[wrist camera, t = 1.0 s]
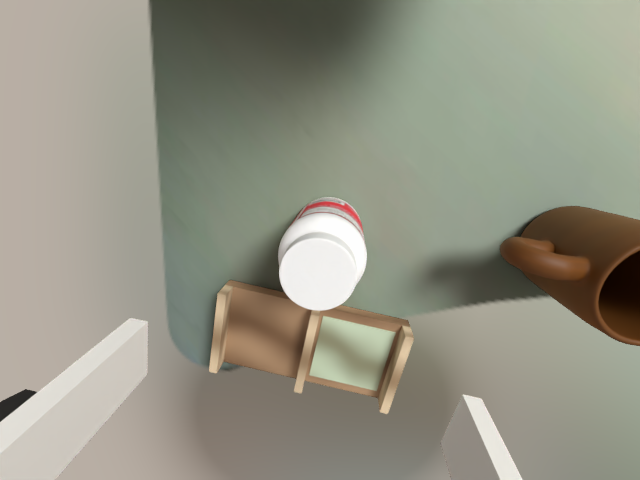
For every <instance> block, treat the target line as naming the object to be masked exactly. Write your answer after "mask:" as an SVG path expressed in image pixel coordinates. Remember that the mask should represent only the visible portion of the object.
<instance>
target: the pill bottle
mask: <svg viewBox="0 0 640 480" xmlns="http://www.w3.org/2000/svg"><path fill="white" fill-rule="evenodd" d="M278 261H279V266H280V267H279V278H280V283H281V286H282V288H283V290H284V292H285V293H286V295H287V296H288V297H289V298H290V299H291V300H292V301H293V302H294V303H296V304H297V305H299V306H301V307H303V308H306V309H310V310H317V311H322V310H329V309H332V308H335V307H337V306H339V305H341V304H342V303H343V302H345V301H346V300H347V299H348V298H349V296H350V295H351V294H352V292H353V290H354V288H355V285H356V284H357V283H358V282H359V280H360V279H361V277H362V275H363V273H364V270H365V267H366V261H367V251H366V245H365V240H364V234H363V229H362V224H361V221H360V218H359V216H358V214H357V212H356V211H355V209H354V208H353V207H352V206H351V205H349V204H348V203H347V202H345V201H343V200H341V199H338V198H334V197H323V198H319V199H316V200H313V201H312V202H310V203H309V204H307V205H306V206H305V207H304V208H303V209H302V210H301V211H300V213H299V214H298V216H297V217H296V218H295V220H294V221H293V222H292V224H291V225H290V226H289V227H288V229H287V230H286V232H285V234H284V235H283V237H282V239H281V242H280V245H279V250H278Z"/></svg>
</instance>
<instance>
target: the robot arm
mask: <svg viewBox="0 0 640 480" xmlns="http://www.w3.org/2000/svg"><path fill="white" fill-rule="evenodd" d="M147 352H148V322H146V321H142V320H137V319H133V318H130V319H128V320H127V321H126V322H124V323H123V324H122V325H121V326H119V327H118V328H117V329H116V330H115V331H113V332H112V333H111V334H109V335H108V336H107V337H106V338H105V339H103V340H102V341H101V342H99V343H98V344H97V345H96V346H95V347H93V348H92V349H91V350H89V351H88V352H87V353H86V354H84V355H83V356H82V357H81V358H80V359H78V360H77V361H76V362H74V363H73V364H72V365H71V366H70V367H68V368H67V369H66V370H65V371H63V372H62V373H61V374H60V375H58V376H57V377H56V378H55V379H53V380H52V381H51V382H50V383H48V384H47V385H46V386H45V387H44V388H42V389H41V390H40V391H39V392H35V391H31V390H27V389H25V390H24V391H21V392H19V393H17V394H15V395H13V396H11V397H9V398H7V399H5V400H3V401H1V402H0V480H55V479H56V478H57V477H58V476H59V475H60V474H61V473H62V472H63V470H64V469H65V468H66V467H67V466H68V465H69V464H70V462H71V461H72V460H73V459H74V457H76V455H77V454H78V453H79V452H80V451H81V450H82V448H83V447H84V446H85V445H86V444H87V443H88V442H89V441H90V439H91V438H92V437H93V436H94V435H95V433H97V431H98V430H99V429H100V428H101V427H102V426H103V424H104V423H105V422H106V421H107V420H108V419H109V418H110V416H111V415H112V414H113V413H114V412H115V411H116V409H117V408H118V407H119V406H120V405H121V404H122V403H123V402H124V400H125V399H126V398H127V397H128V396H129V395H130V394H131V392H132V391H133V390H134V389H135V388H136V387H137V385H138V384H139V383H140V382H141V381H142V380H143V379H144V377H145V376H146V375H147V356H148V354H147ZM441 447H442V450H443V453H444V457H445V460H446V463H447V467H448V470H449V474H450V477H451V480H522V478H521V476H520V474H519V472H518V470H517V468H516V466H515V464H514V462H513V460H512V458H511V456H510V454H509V452H508V450H507V448H506V446H505V444H504V442H503V440H502V438H501V436H500V434H499V432H498V430H497V428H496V427H495V424H494V423H493V420H492V419H491V417H490V415H489V413H488V411H487V409H486V407H485V405H484V403H483V401H482V399H481V398H476V397H472V396H468V395H463V394H462V397H461V399H460V401H459V403H458V406H457V408H456V410H455V412H454V414H453V416H452V419H451V421H450V424H449V426H448V428H447V430H446V432H445V434H444V437H443V439H442V441H441Z"/></svg>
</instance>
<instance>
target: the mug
mask: <svg viewBox="0 0 640 480" xmlns="http://www.w3.org/2000/svg"><path fill="white" fill-rule="evenodd" d="M500 252H501V256H502V257H503V258H504V259H505V260H506V261H507V262H508V263H510V264H511V265H513V266H515V267H517V268H519V269H521V270H522V272H523V273H524V274H525V276H526V277H527V278H528V279H529V280H531V281H532V282H533V283H534V284H535V285H537V286H538V287H539V288H541V289H542V290H544V291H545V292H546V293H547V294H549V295H550V296H551V297H553V298H554V299H555V300H557V301H558V302H559V303H561V304H562V305H563V306H565V307H566V308H567V309H569V310H570V311H572V312H573V313H574V314H575V315H577V316H578V317H580V318H581V319H582V320H584V321H585V322H587V323H588V324H590V325H591V326H593V327H595V328H597V329H598V330H600V331H602V332H603V333H605V334H606V335H608V336H609V337H611V338H613V339H615V340H617V341H619V342H622V343H626V344H630V345H636V346H640V220H637V219H633V218H629V217H625V216H621V215H617V214H612V213H608V212H603V211H599V210H595V209H591V208H586V207H580V206H566V207H559V208H555V209H552V210H550V211H547V212H545V213H543V214H542V215H540V216H538V217H537V218H536V219H534V220H533V221H532V222H531V223H530V224H529V225H528V226H527V227H526V228H525V230H524V231H523V233H522V235H521V237H511V238H508V239H506V240H505V241H503V243H502V244H501V245H500Z"/></svg>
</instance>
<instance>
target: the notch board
mask: <svg viewBox="0 0 640 480" xmlns="http://www.w3.org/2000/svg"><path fill="white" fill-rule="evenodd" d="M413 340H414V337H413V334H412V331H411V328H410V325H409V322H408V320H404V319H399V318H395V317H391V316H386V315H382V314H377V313H373V312H369V311H364V310H360V309H356V308H351V307H347V306H342V305H339V306H337V307H335V308H332V309H329V310H322V311H317V310H310V309H306V308H303V307H301V306H299V305H297V304H296V303H294V302H293V301H292V300H291V299H290V298H289V297H288V296H287V295H286V293H285V292H281V291H277V290H272V289H268V288H263V287H259V286H255V285H250V284H246V283H242V282H237V281H233V280H229V281H228V282H227V283H226V285H225V286H224V287H223V288H222V289H221V290H220V291H219V292H218V295H217V304H216V313H215V322H214V331H213V340H212V349H211V358H210V367H209V372H213V373H217V372H218V370H219V368H220V367H221V365H222V363H223V362H228V363H232V364H236V365H240V366H245V367H249V368H254V369H258V370H262V371H266V372H271V373H275V374H279V375H283V376H287V377H292V378H296V384H295V388H294V392H297V393H302V389H303V385H304V381H308V382H313V383H317V384H322V385H325V386H330V387H334V388H339V389H342V390H347V391H351V392H356V393H360V394H364V395H368V396H372V397H376V398H378V401H379V409H380V412H382V413H386V414H388V411H389V408H390V406H391V403H392V400H393V397H394V394H395V391H396V389H397V386H398V383H399V380H400V377H401V374H402V371H403V369H404V366H405V363H406V360H407V357H408V354H409V351H410V349H411V346H412V343H413Z"/></svg>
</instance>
